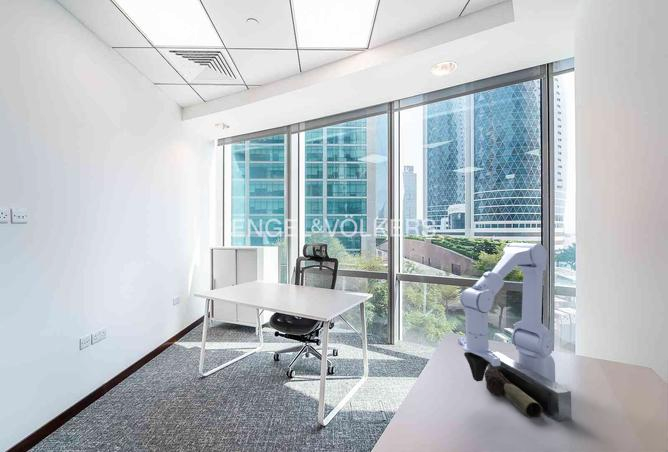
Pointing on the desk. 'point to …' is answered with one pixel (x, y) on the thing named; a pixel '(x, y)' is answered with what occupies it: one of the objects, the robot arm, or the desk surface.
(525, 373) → the grey metal tray
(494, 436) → the desk surface
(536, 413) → the corroded crusty cylinder
